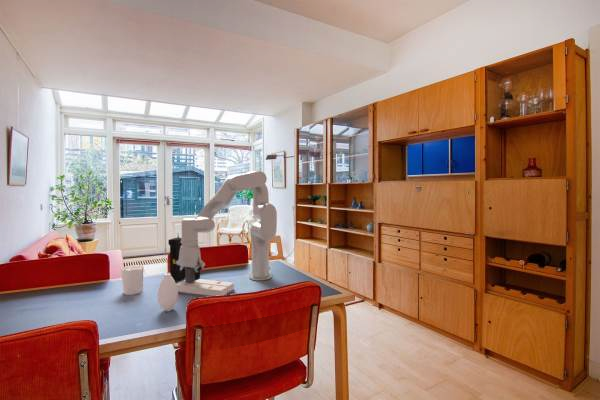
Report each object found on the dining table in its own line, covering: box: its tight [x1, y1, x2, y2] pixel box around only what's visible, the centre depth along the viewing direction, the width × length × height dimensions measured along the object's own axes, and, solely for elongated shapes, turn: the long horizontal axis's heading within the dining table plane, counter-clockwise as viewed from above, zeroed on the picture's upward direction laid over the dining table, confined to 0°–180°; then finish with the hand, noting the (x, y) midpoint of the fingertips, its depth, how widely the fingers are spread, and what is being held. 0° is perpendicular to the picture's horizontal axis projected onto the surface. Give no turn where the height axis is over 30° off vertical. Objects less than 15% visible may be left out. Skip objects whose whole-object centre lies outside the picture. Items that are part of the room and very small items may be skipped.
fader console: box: [176, 278, 235, 298], centre depth 154 cm, size 12×26×4 cm, turn 72°
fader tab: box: [184, 267, 196, 283], centre depth 156 cm, size 4×3×10 cm
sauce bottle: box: [157, 267, 179, 312], centre depth 131 cm, size 8×8×18 cm
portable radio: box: [167, 233, 182, 282], centre depth 173 cm, size 8×6×25 cm
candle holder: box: [120, 264, 145, 296], centre depth 153 cm, size 10×10×12 cm
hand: (190, 278), depth 156 cm, fingers open, 7 cm apart
